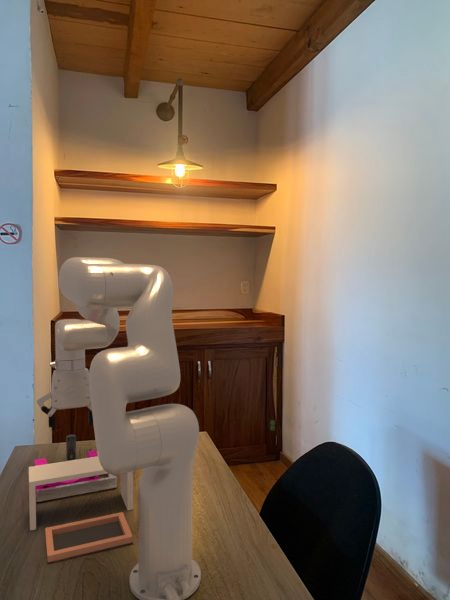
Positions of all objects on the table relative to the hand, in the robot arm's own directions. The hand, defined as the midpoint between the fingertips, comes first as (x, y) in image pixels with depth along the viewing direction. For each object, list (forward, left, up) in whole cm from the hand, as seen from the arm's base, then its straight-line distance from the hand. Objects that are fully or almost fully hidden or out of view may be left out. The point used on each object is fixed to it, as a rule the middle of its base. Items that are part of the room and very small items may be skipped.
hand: (71, 427), depth 123 cm
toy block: (-10, +2, -13) cm, 16 cm away
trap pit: (-34, 0, -12) cm, 37 cm away
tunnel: (-22, 0, -12) cm, 26 cm away
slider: (-6, 0, -12) cm, 13 cm away
